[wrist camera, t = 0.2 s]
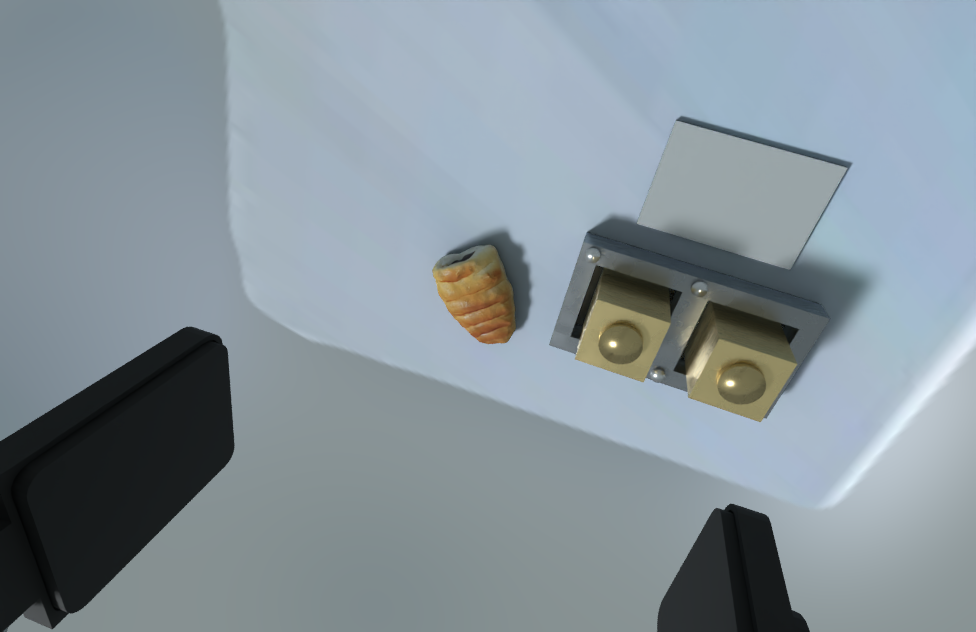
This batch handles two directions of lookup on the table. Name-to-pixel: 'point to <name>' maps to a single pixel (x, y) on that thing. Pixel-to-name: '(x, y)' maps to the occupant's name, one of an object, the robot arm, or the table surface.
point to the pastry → (477, 293)
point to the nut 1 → (624, 324)
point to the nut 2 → (737, 361)
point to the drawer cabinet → (685, 304)
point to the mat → (738, 194)
